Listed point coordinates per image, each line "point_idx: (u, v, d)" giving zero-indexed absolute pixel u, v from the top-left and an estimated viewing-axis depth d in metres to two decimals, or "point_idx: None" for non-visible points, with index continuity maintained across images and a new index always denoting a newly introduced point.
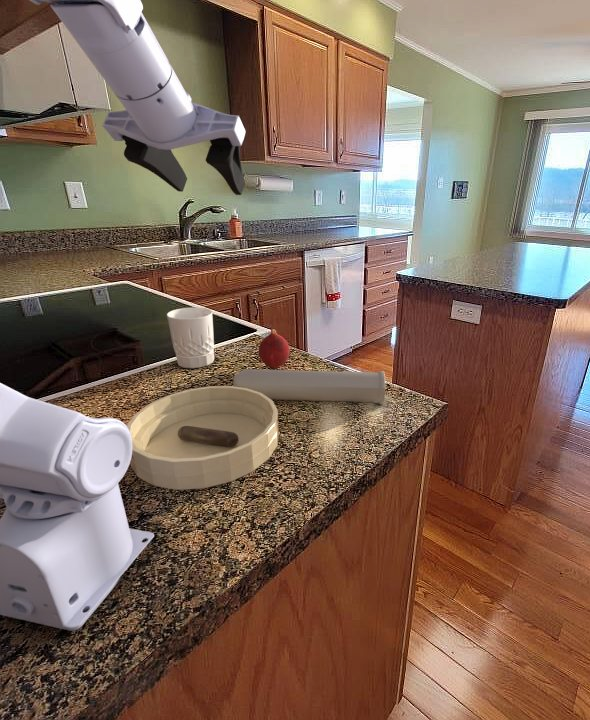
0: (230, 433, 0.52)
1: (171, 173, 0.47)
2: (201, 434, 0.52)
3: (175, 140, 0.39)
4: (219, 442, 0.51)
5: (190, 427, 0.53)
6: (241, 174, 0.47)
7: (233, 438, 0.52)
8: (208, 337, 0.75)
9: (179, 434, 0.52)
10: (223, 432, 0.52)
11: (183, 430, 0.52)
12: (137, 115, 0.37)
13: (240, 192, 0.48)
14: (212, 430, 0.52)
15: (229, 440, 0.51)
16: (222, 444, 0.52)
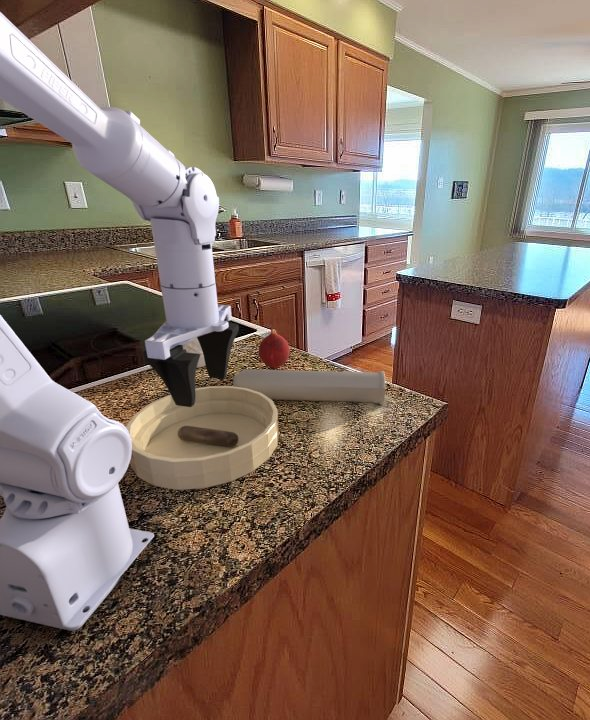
0: (230, 433, 0.52)
1: (211, 360, 0.52)
2: (201, 434, 0.52)
3: (165, 322, 0.45)
4: (219, 442, 0.51)
5: (190, 427, 0.53)
6: (187, 397, 0.45)
7: (233, 438, 0.52)
8: None
9: (179, 434, 0.52)
10: (223, 432, 0.52)
11: (183, 430, 0.52)
12: None
13: (175, 402, 0.46)
14: (212, 430, 0.52)
15: (229, 440, 0.51)
16: (222, 444, 0.52)
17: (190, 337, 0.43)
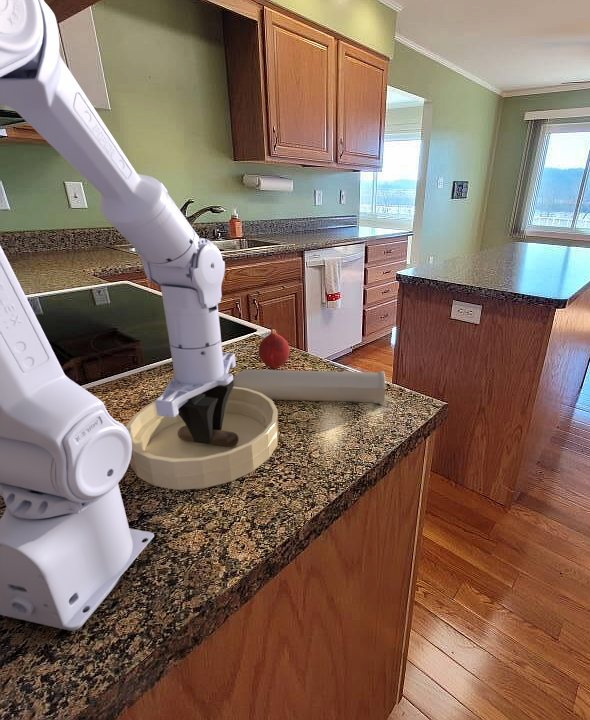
0: (230, 433, 0.52)
1: None
2: None
3: (173, 376, 0.48)
4: (219, 442, 0.51)
5: None
6: (205, 435, 0.50)
7: (233, 438, 0.52)
8: None
9: (179, 434, 0.52)
10: (223, 432, 0.52)
11: (183, 430, 0.52)
12: None
13: (194, 440, 0.51)
14: None
15: (229, 440, 0.51)
16: (222, 444, 0.52)
17: (197, 393, 0.46)
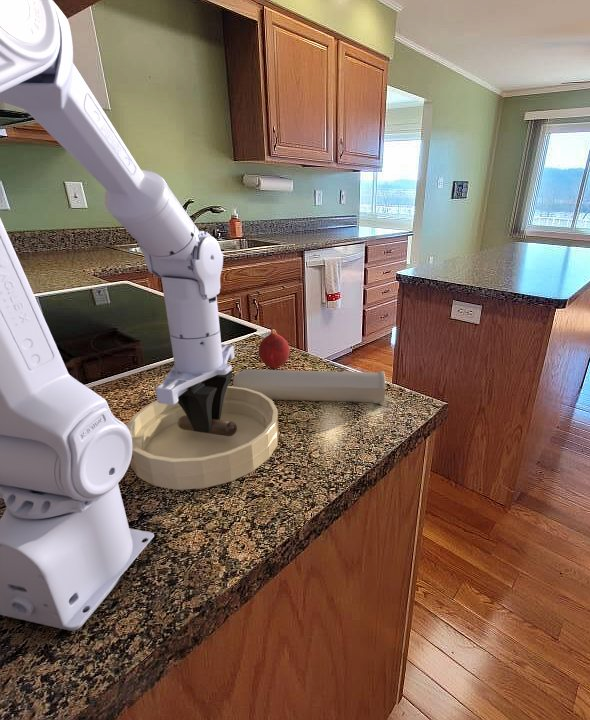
0: (229, 422, 0.53)
1: None
2: None
3: (173, 366, 0.49)
4: (218, 431, 0.53)
5: None
6: (204, 424, 0.52)
7: (232, 427, 0.53)
8: None
9: (179, 423, 0.54)
10: (222, 421, 0.53)
11: (183, 419, 0.54)
12: None
13: (194, 429, 0.52)
14: None
15: (228, 429, 0.53)
16: (221, 433, 0.53)
17: (196, 382, 0.47)
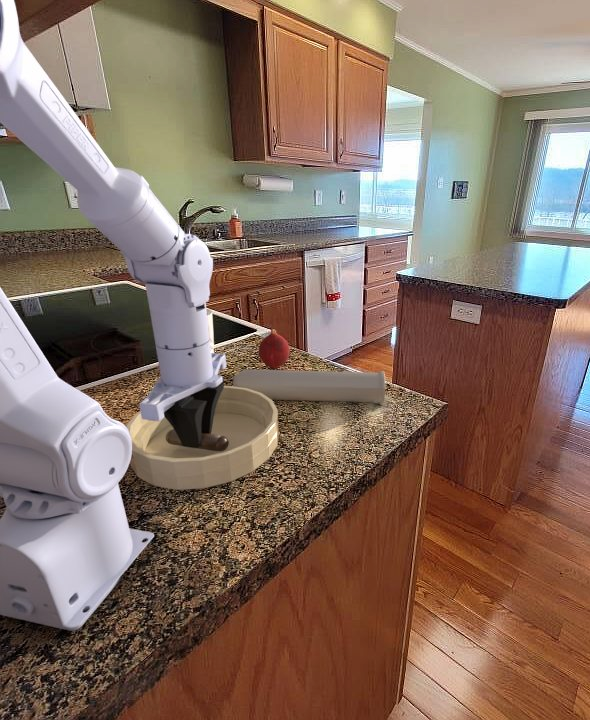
0: (220, 437, 0.50)
1: None
2: None
3: (160, 378, 0.46)
4: (208, 446, 0.50)
5: None
6: (194, 439, 0.49)
7: (223, 442, 0.50)
8: None
9: (167, 438, 0.50)
10: (213, 436, 0.50)
11: (171, 434, 0.50)
12: None
13: (182, 444, 0.49)
14: (201, 434, 0.50)
15: (219, 444, 0.49)
16: (211, 448, 0.50)
17: (184, 396, 0.44)
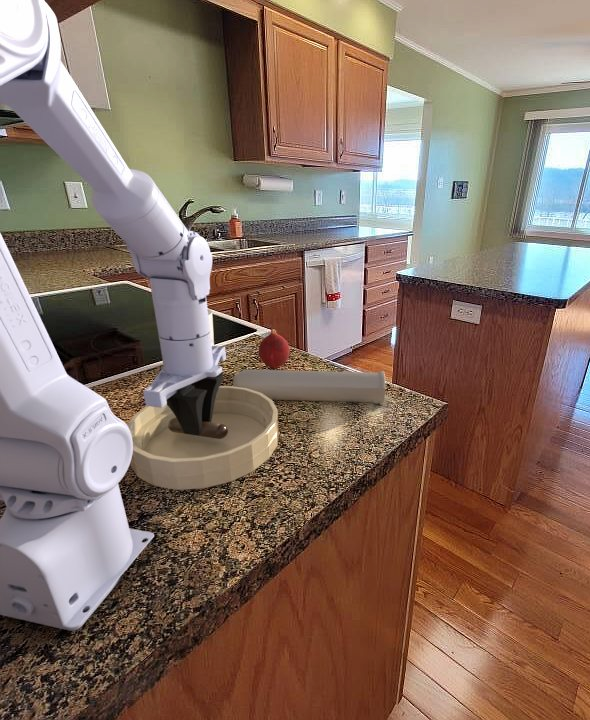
0: (220, 425, 0.52)
1: None
2: None
3: (163, 368, 0.49)
4: (208, 434, 0.52)
5: None
6: (195, 427, 0.51)
7: (222, 430, 0.52)
8: None
9: (169, 426, 0.53)
10: (213, 424, 0.53)
11: (173, 422, 0.53)
12: None
13: (184, 431, 0.52)
14: (202, 422, 0.53)
15: (218, 431, 0.52)
16: (212, 435, 0.52)
17: (185, 384, 0.46)
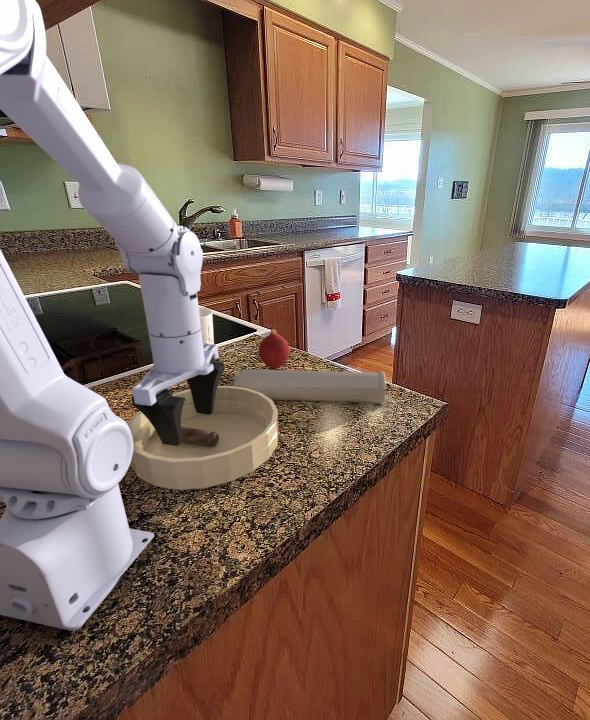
0: (209, 435, 0.51)
1: (198, 397, 0.55)
2: (181, 437, 0.52)
3: (153, 366, 0.48)
4: (200, 444, 0.52)
5: None
6: (173, 437, 0.48)
7: (213, 440, 0.51)
8: (208, 337, 0.75)
9: None
10: (202, 434, 0.52)
11: None
12: None
13: (162, 441, 0.49)
14: (191, 432, 0.52)
15: (209, 442, 0.51)
16: (204, 445, 0.52)
17: (176, 382, 0.45)
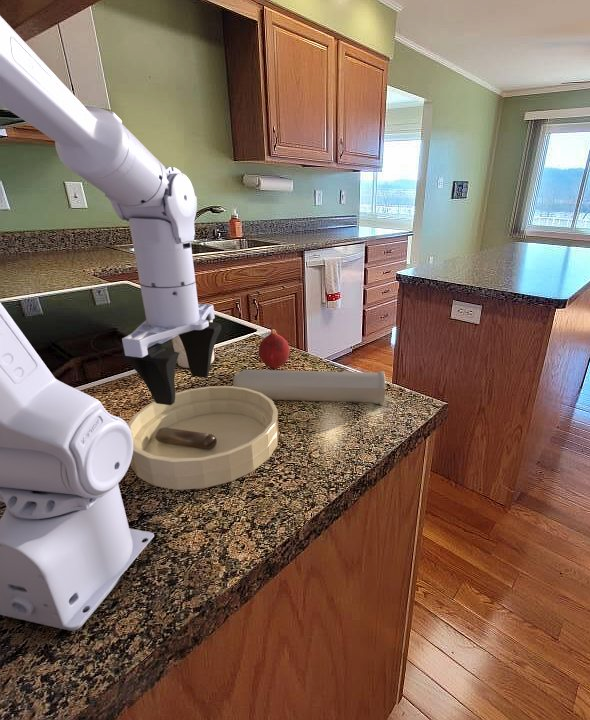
0: (205, 442, 0.51)
1: (193, 359, 0.53)
2: (179, 444, 0.51)
3: (145, 321, 0.46)
4: None
5: (164, 436, 0.51)
6: (167, 395, 0.46)
7: (210, 446, 0.51)
8: None
9: (159, 441, 0.52)
10: (198, 442, 0.51)
11: (160, 440, 0.52)
12: None
13: (155, 400, 0.47)
14: (186, 439, 0.51)
15: (208, 448, 0.51)
16: None
17: (169, 335, 0.43)
